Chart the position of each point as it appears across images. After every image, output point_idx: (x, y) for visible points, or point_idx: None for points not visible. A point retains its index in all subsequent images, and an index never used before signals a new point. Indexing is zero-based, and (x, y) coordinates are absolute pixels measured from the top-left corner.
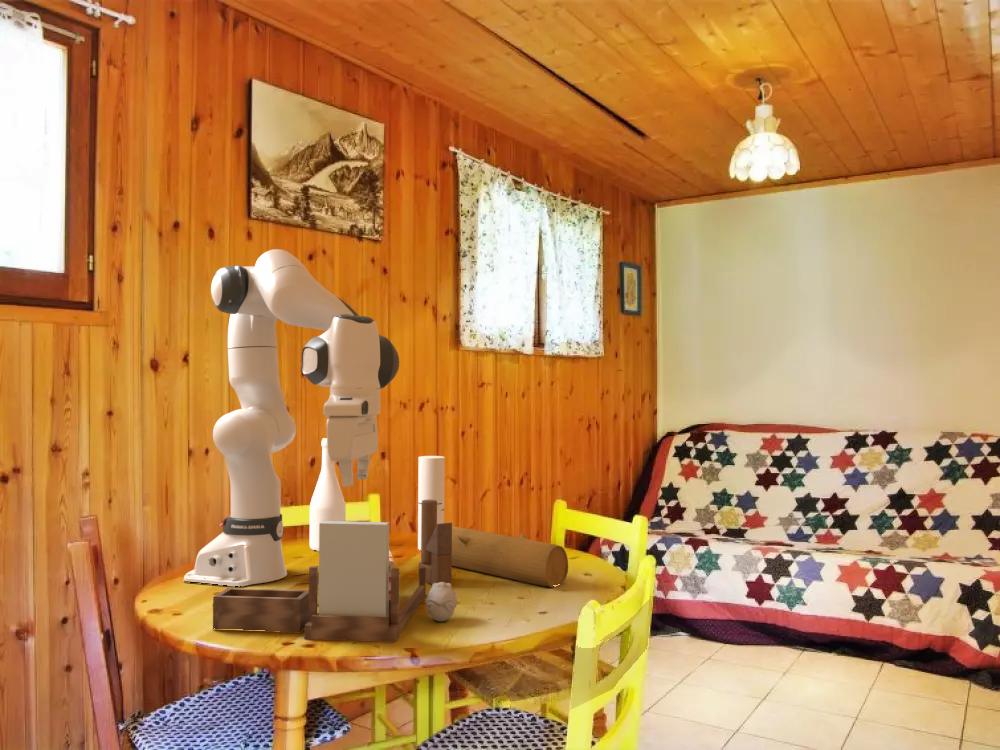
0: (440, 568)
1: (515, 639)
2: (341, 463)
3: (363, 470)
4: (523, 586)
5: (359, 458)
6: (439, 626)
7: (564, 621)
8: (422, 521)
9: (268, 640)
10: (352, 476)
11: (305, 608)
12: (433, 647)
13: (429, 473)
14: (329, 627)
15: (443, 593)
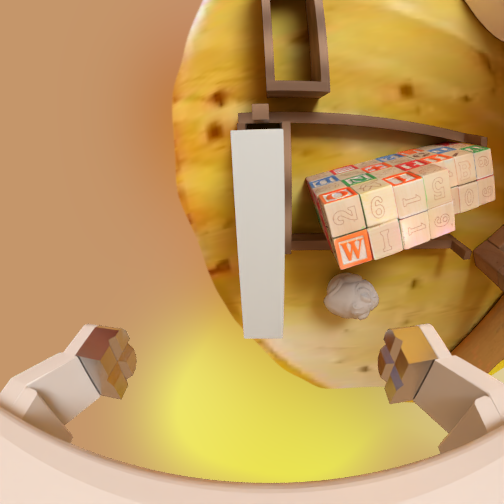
0: (487, 265)
1: (274, 358)
2: (10, 401)
3: (395, 393)
4: (455, 337)
5: (468, 420)
6: (317, 284)
7: (333, 385)
8: None
9: (227, 67)
10: (96, 391)
11: (294, 93)
12: (235, 290)
13: None
14: None
15: (338, 309)
